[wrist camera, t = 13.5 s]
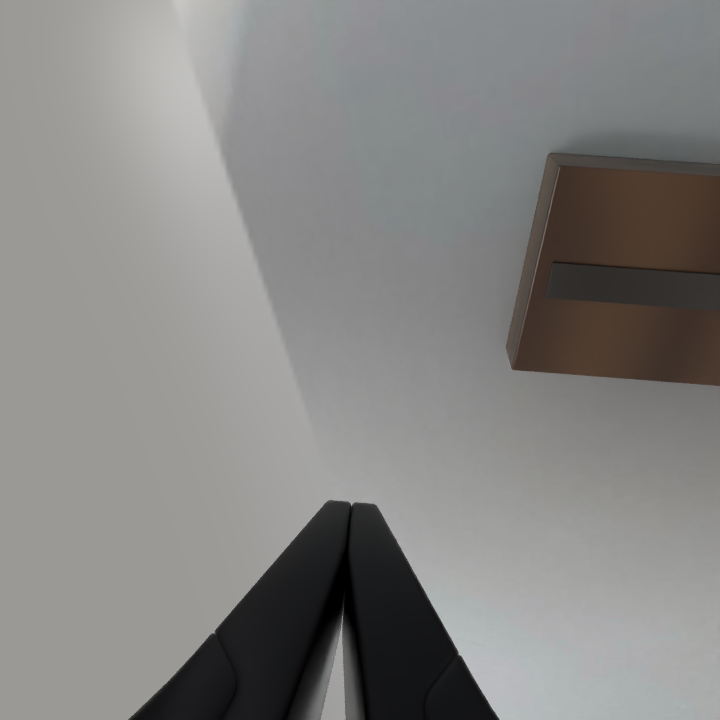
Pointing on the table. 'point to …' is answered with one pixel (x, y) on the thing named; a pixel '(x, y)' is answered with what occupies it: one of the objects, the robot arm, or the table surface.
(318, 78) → the table surface
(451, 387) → the table surface
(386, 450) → the table surface
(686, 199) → the rail
